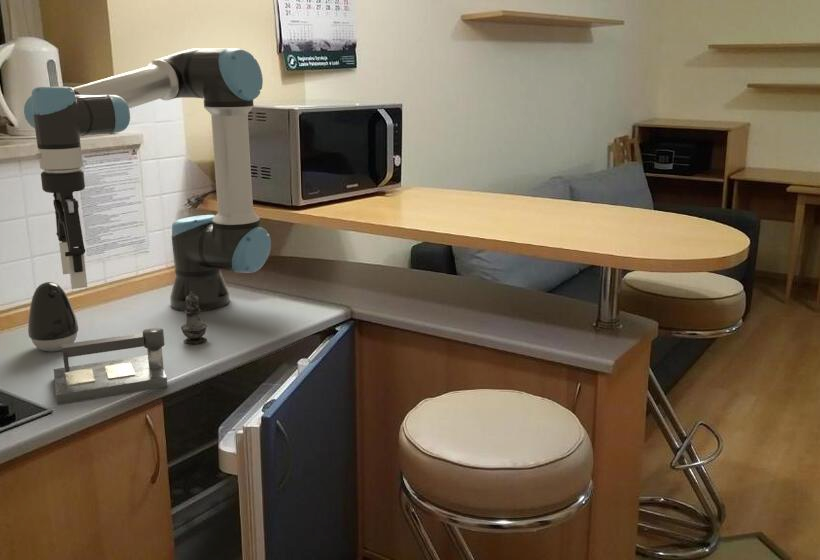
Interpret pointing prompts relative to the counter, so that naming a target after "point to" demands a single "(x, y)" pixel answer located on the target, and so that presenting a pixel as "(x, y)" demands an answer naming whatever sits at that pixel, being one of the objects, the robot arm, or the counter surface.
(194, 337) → the grey chess piece
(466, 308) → the counter surface
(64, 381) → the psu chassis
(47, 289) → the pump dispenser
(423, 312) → the counter surface
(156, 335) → the lever
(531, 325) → the counter surface
